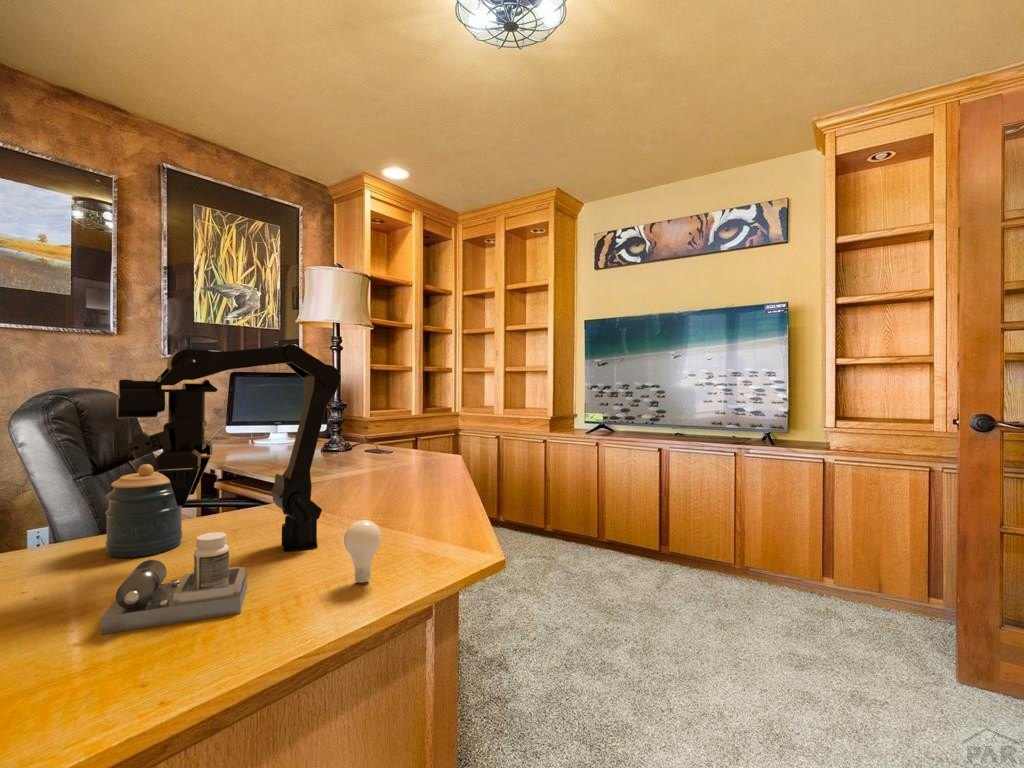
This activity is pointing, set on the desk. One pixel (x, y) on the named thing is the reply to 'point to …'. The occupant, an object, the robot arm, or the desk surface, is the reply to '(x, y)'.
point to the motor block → (170, 599)
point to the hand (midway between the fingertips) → (186, 499)
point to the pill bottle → (211, 561)
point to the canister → (142, 515)
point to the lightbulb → (362, 547)
